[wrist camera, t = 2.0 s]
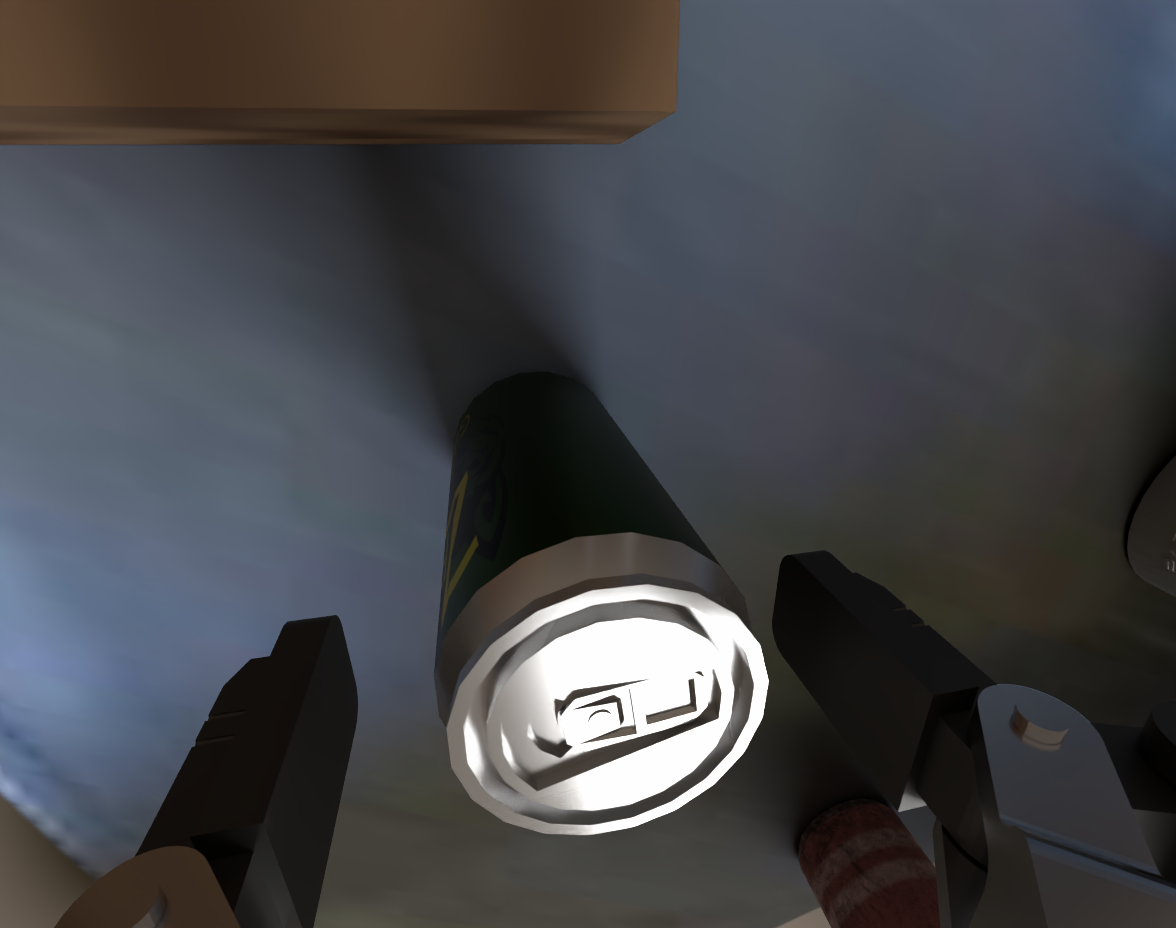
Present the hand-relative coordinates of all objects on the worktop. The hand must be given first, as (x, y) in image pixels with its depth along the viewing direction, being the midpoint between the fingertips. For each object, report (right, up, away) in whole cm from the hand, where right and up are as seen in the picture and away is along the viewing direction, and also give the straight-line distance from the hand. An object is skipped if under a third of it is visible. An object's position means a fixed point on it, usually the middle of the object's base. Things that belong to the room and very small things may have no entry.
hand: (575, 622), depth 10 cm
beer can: (-2, +4, +9) cm, 10 cm away
